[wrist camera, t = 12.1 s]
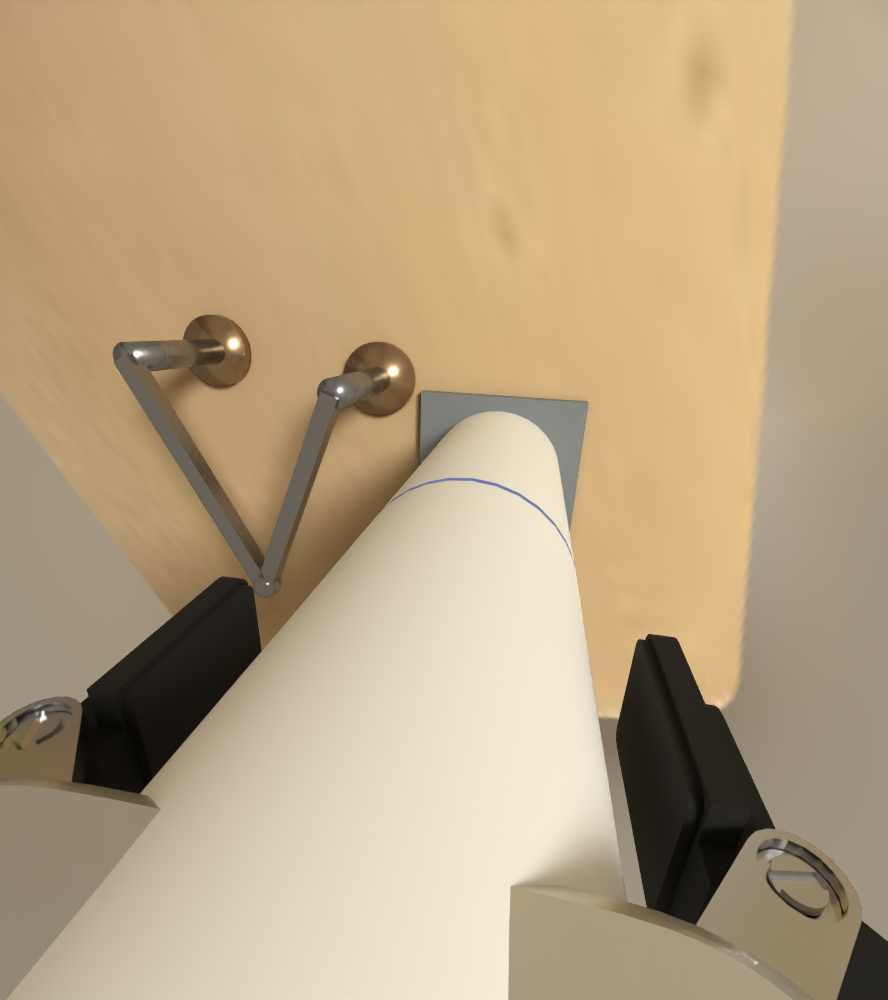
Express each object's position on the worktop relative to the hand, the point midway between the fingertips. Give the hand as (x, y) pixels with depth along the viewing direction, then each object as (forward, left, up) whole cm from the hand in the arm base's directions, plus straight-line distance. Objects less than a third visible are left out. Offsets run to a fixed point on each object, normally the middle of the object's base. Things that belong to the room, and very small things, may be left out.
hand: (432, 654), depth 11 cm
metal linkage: (-1, -12, -17) cm, 21 cm away
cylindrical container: (0, 0, -17) cm, 17 cm away
